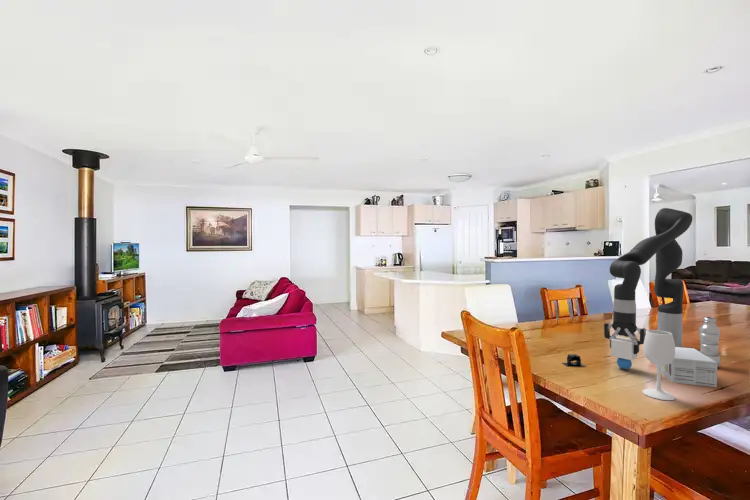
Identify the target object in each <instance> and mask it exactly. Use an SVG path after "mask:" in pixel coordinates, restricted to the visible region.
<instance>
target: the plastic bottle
mask: <svg viewBox="0 0 750 500" xmlns="http://www.w3.org/2000/svg"><path fill="white" fill-rule="evenodd" d="M702 319H703V320H702V322H703V323H702V324H700V326H699V327H698V335H699V342H700V344H699V345H700V346H699V347H700V348H699V352H701V353H702V354H704V355H706V356H707V357H709V358H711V359H713V360H714V361H716V362H717V368H719V366H721V357H720V353H719V342H720V341H719V340H720V336H721V331H720V328H719V327H718V326H717V325H716V323H717V318H716V317H711V316H703V318H702Z"/></svg>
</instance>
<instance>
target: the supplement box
mask: <svg viewBox="0 0 750 500" xmlns="http://www.w3.org/2000/svg"><path fill="white" fill-rule="evenodd" d="M655 368H656V366H655ZM661 374H662V375H663V376H665V377H666V379H668V380H669V381H670V382H672V383H676V384H684V385H694V386H703V387H712V388H717V387H718V386H717V385H718V367H717V362H716V361H714V360H713V359H711V358H709V357H707V356H706V355H704V354H702V353H701V352H700V350H698V349H696V348H693V347H684V346H682V347H675V356H674V359H673V361H672V362H670V363H669V364H667V365H664V366H662V368H661Z"/></svg>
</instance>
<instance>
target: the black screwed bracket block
mask: <svg viewBox="0 0 750 500" xmlns="http://www.w3.org/2000/svg"><path fill="white" fill-rule="evenodd" d="M574 361H575V362H574ZM561 364H562V365H564V366H565V367H566V368H567V367H568V368H569V367H570V368H576V367H577V368H583V367H584V368H585V367H586V368H587V365H585V364H583V363H582V358H581V356H580V355H578V354H577V353H575V354H573V353H571V354H569V353H568V354H567V357H566V362H561Z"/></svg>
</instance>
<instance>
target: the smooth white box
mask: <svg viewBox="0 0 750 500" xmlns="http://www.w3.org/2000/svg"><path fill="white" fill-rule="evenodd" d="M610 357H614V358H623V359H628V360H631V361H633V360H635V359H636V358H638V353H637V354H634V342H633V341H632V340H631V339H630V338H628V337H627V338H626V337H622V336H617V337H616V338H614V339H611V348H610Z"/></svg>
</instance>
